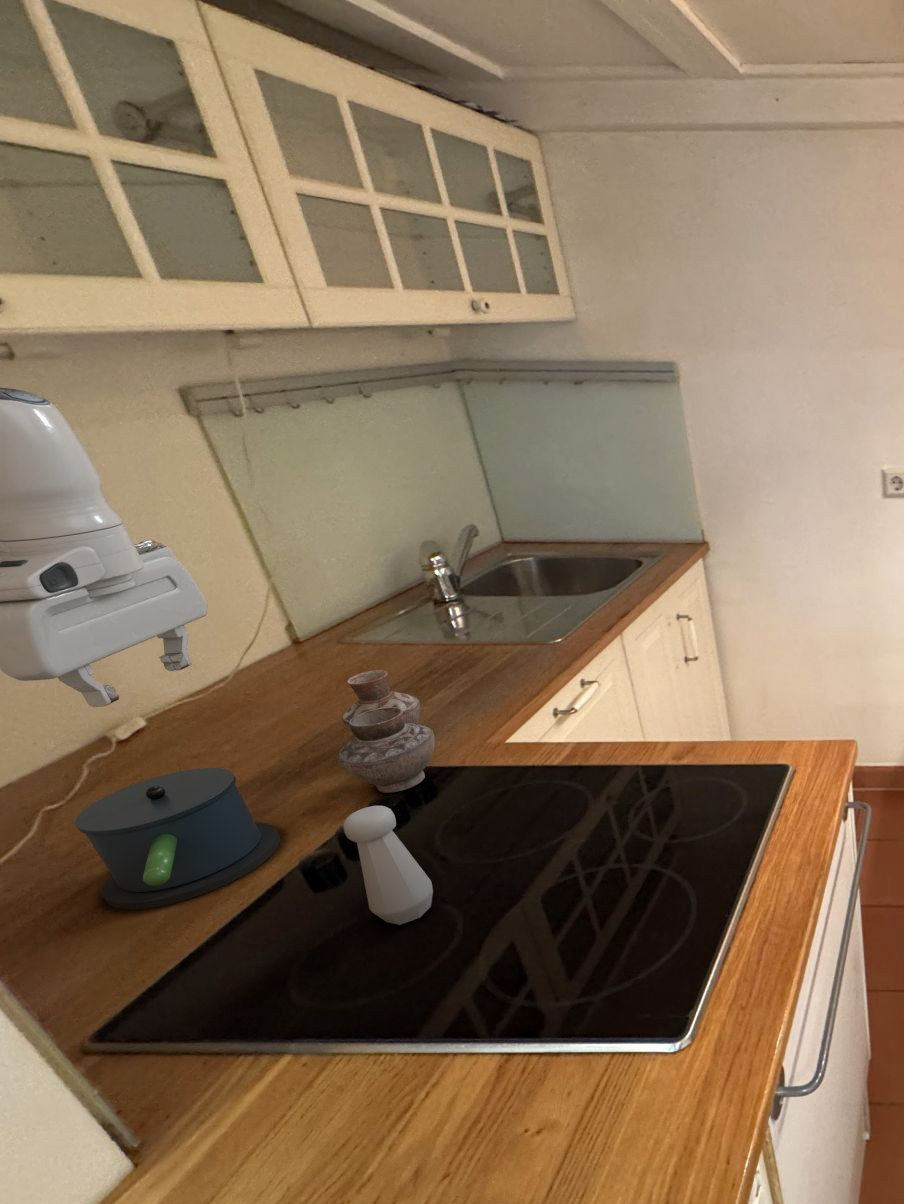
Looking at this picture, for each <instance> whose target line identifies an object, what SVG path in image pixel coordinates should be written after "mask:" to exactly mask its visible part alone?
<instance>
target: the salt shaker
mask: <svg viewBox="0 0 904 1204" xmlns="http://www.w3.org/2000/svg"><path fill="white" fill-rule="evenodd" d="M342 826H343V828H342V829H343V832H344V835H345V836H346V838H347V839H348V840H350V841H352V842H354V843H356V845H357V850H358V855H359V860H360V865H361V871H362V876H363V882H364V888H365V892H366V897H367V904H368V908H369V910H370V912H371V913H373V914H374V915H376V916H378V918H380V919H382V920H383V921H385V922H386V923H389V924H394V925H398V926H401V925H404V924H406V923H410V922H412V921H415V920H417V919H420V918H421V917H422V916H423V915H424V914H425V913H426V912H427V911H428V910H429V909H430V908H431V907H432V903H433V894H434V889H433V884H432V880H431V879H430V877H429V876H428V874H427V873H426V872H425V871H424V869H422V867H421V865H419V863H418V862H417V860H416V859H415V858H414V856H412V854H411V853H410V851H409V849H407V847H406V846H405V844H404V843H403V842H402V841H401V840H400V838H399V836H398V835H396V833H395V832H394V829H395V827H397V820H396V816H395V813H394V812H393V810H392V809H391V808H389V807H388V806H384V805H371V806H367V807H364V808H361V809H358V810H356V811H354V812H352V813H351V814H349V815H348V816H347V817H346V818H345V820H344V821H343V825H342Z"/></svg>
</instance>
